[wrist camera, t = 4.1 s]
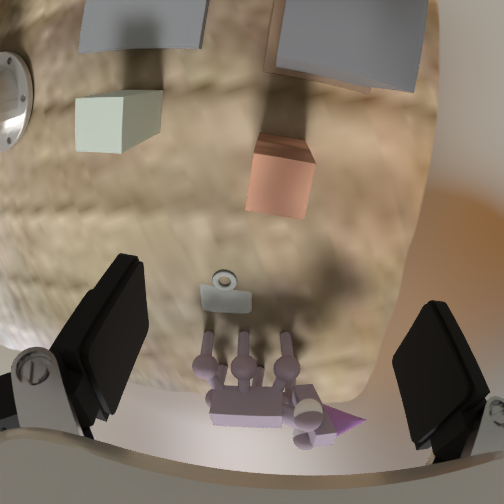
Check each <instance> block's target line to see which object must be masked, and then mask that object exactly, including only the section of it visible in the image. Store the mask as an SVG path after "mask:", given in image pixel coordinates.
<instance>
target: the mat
mask: <svg viewBox="0 0 504 504" xmlns="http://www.w3.org/2000/svg"><path fill="white" fill-rule="evenodd" d="M208 5H209V0H86V2H85V8H84V14H83V20H82V27H81V34H80V42H79V50H78V54H84V53H93V52H102V51H113V50H128V49H156V48H176V49H201V48H202V41H203V35H204V28H205V22H206V16H207V11H208Z"/></svg>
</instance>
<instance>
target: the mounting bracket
mask: <svg viewBox="0 0 504 504" xmlns="http://www.w3.org/2000/svg"><path fill="white" fill-rule="evenodd" d="M222 276H226V277H228V278H229V279H230V280H231V283H230V284H229V285H226V286H225V285H222V284H220V283H219V281H218V280H219V278H220V277H222ZM212 281H213V284H214V286H208V285H202V284H199V285H200V294H201V302H202V308H203V309H204V310H206V311H210V312H223V313H241V314H246V313H249V312H251V311H252V292H246V291H240V290H233V289H234V287H235V286H236V285H237V278H236V276H235V275H234V274H233V273H232V272H230V271H226V270H220V271H218V272H216V273H215V274H214V275H213V278H212Z"/></svg>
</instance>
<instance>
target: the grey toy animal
mask: <svg viewBox="0 0 504 504" xmlns="http://www.w3.org/2000/svg"><path fill="white" fill-rule="evenodd" d="M213 341H214V333H213V332H211V331H206V332H205V333H204V336H203V342H202V348H201V354H200V355H199V356H197V357H196V358H195V359H194V361H193V364H192V368H193V372H194V373H195V375H196V376H197V377H199V378H201V379H206V380H207V381H208V383H209V384H210V386H211V387H212V389H211V390H210V391H208V393H207V394H206V398H205V399H206V403H207V405H208V406H209V407H210V412H209V414H210V417H211V419H212V422H213V425H220V426H235V427H259V428H260V427H262V428H282V424H285V425H288V426H290V427H293V428H295V429H294V431H293V437H294V438H293V441H294V444H295V445H296V446H297V447H298V448H299V449H302V450H309V449H312V448H313V447H320V446H327V445H332V444H333V442H334V440H335V437H337V436H339V435H340V434H342V433H344V432H346V431H348V430H350V429H352V428H354V427H355V426H357V425H359V424H361V423H362V422H364V421H366V420H365V419H362V418H359V417H356V416H353V415H351V414H348V413H345V412H343V411H340V410H337V409H335V408H332V407H329V406H327V405H324V404H322V402H321V400H320V398H319V396H318V394H317V392H316V390H315V388H314V386H313V384H307V385H295V384H296V377H297V376H298V375H299V373H300V364H299V362H298V360H297V359H295V358H294V356H295V355H293V348H292V345H293V344H292V341H291V334H290V333H289V332H282V333H281V334H280V342H281V352H282V357H280V358H279V359H278V360H277V361H276V362H275V364H274V374H275V375H276V379H275V382H274V384H273V386H272V387H262V383H263V376H264V368H262V367H257V363H256V361H255V360H254V358H252V357H251V356H249V333H248V332H246V331H242V332H240V333H239V335H238V356H237V357H236V358H235V359H234V360H233V361H232V363H231V372H232V374H233V375H234V376H235V377H236V378H237V379H238V386H226V385H224V382H225V377H226V373H227V369H228V367H227V366H225V365H222V364H220V365H219V366H218V363H217V361H216V359H215V358H214V357H213V356H212V349H213ZM216 373H217V374H216ZM251 378H253V382H252V386H250V379H251ZM284 388H285V392H283V390H284Z"/></svg>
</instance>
